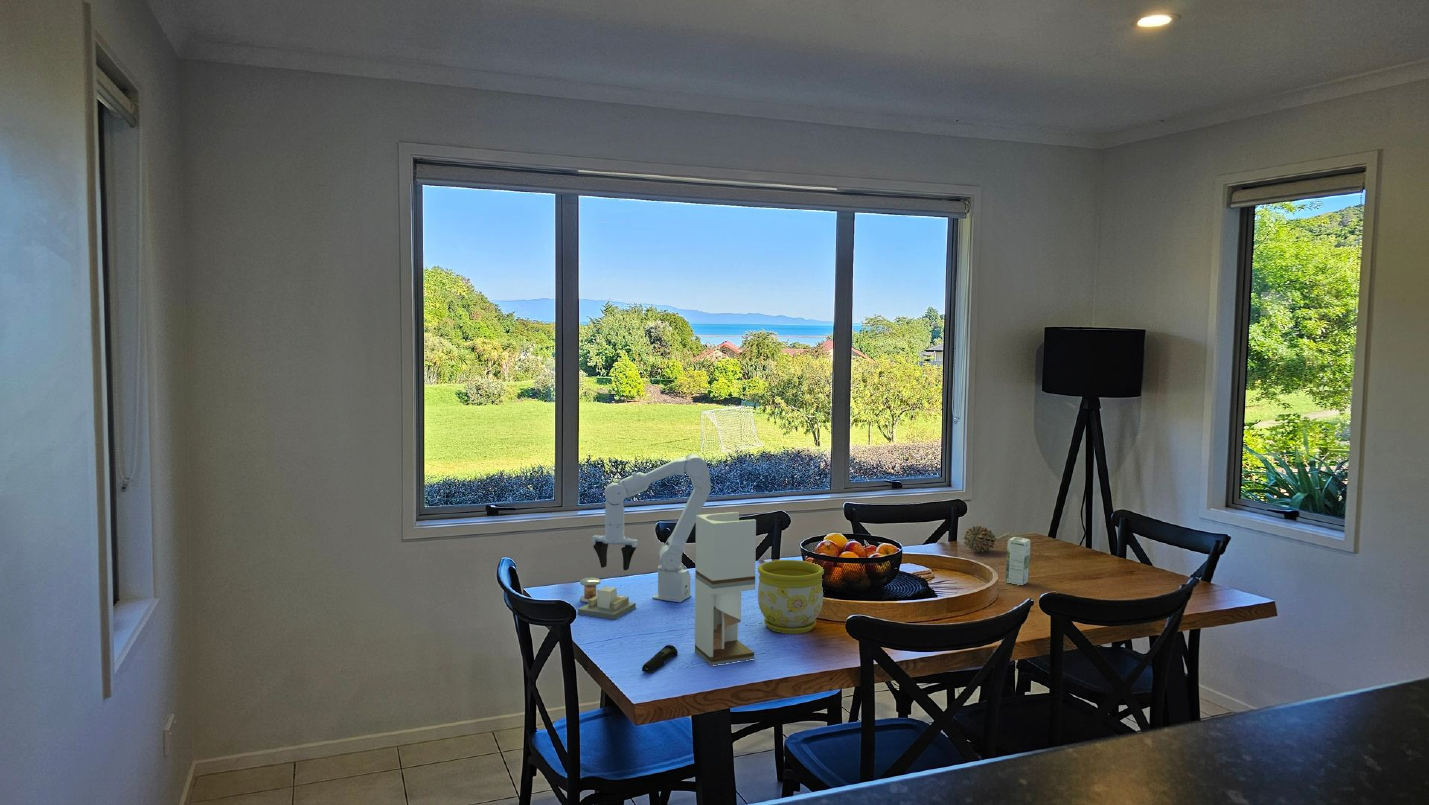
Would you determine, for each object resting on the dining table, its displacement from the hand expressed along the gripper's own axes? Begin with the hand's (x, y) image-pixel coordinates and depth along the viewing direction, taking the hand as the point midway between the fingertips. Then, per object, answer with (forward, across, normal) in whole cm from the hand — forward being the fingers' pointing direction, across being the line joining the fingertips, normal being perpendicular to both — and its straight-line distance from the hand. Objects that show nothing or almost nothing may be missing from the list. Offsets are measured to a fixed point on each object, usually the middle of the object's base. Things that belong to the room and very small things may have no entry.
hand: (614, 568), depth 274 cm
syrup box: (+10, +110, +69) cm, 130 cm away
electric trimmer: (+10, +36, -42) cm, 56 cm away
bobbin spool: (+9, -6, -4) cm, 12 cm away
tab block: (+8, +4, -11) cm, 14 cm away
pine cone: (+10, +96, +111) cm, 146 cm away
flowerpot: (+10, +56, -2) cm, 57 cm away
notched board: (+9, +4, -11) cm, 15 cm away
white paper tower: (+10, +48, -31) cm, 58 cm away
